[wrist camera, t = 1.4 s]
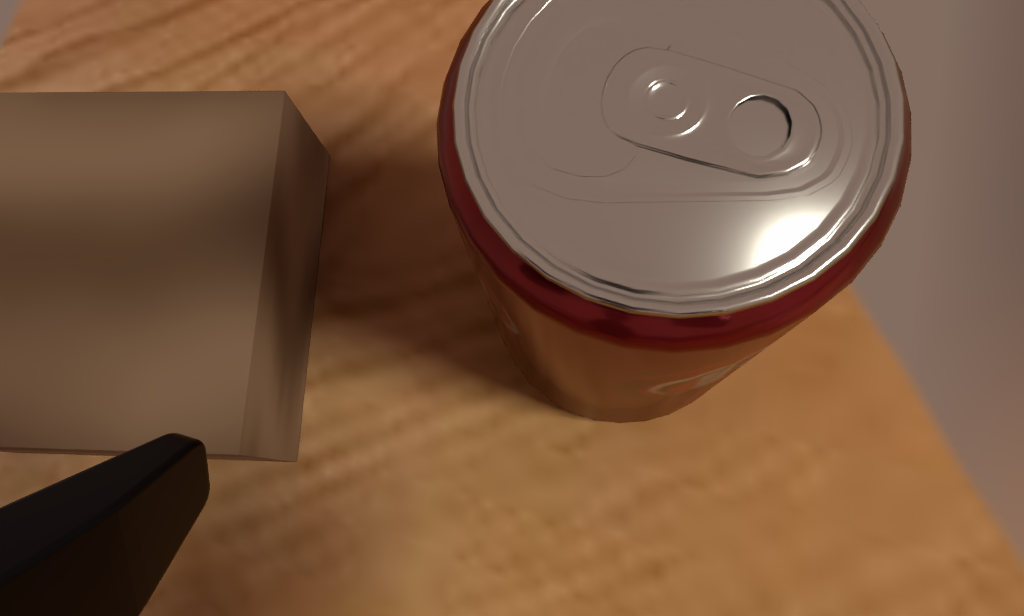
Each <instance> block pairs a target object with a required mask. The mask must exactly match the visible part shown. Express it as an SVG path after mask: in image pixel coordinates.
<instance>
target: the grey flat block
mask: <svg viewBox="0 0 1024 616" xmlns="http://www.w3.org/2000/svg"><path fill="white" fill-rule="evenodd" d="M329 157H330V155H329V154H328V152H327V151H326V149H325V148H324V147H323V145H322V144H321V142H320V141H319V139H318V138H317V136H316V135H315V134H314V132H313V131H312V129H311V128H310V126H309V125H308V123H307V122H306V121H305V119H304V118H303V116H302V115H301V113H300V112H299V110H298V109H297V108H296V106H295V105H294V103H293V102H292V100H291V99H290V97H289V96H288V95H287V93H286V92H285V91H195V92H37V93H0V451H3V452H19V453H48V454H77V455H106V456H118V455H120V454H122V453H125V452H127V451H129V450H131V449H134V448H136V447H138V446H140V445H143V444H145V443H147V442H149V441H152V440H154V439H156V438H158V437H160V436H163V435H165V434H169V433H179V434H182V435H185V436H189V437H192V438H195V439H199V440H200V441H202V442H203V444H204V445H205V448H206V454H207V459H223V460H252V461H282V462H297V457H298V448H299V438H300V429H301V420H302V410H303V401H304V392H305V382H306V373H307V364H308V354H309V345H310V335H311V326H312V317H313V307H314V298H315V289H316V279H317V270H318V260H319V251H320V242H321V232H322V223H323V214H324V204H325V195H326V186H327V176H328V167H329Z"/></svg>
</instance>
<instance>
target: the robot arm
mask: <svg viewBox="0 0 1024 616" xmlns="http://www.w3.org/2000/svg"><path fill="white" fill-rule="evenodd" d="M209 490H210V483H209V473H208V464H207V454H206V448H205V445H204V444H203V442H202V441H200V440H199V439H195V438H192V437H189V436H185V435H182V434H179V433H169V434H165V435H163V436H160V437H158V438H156V439H154V440H152V441H149V442H147V443H145V444H143V445H140V446H138V447H136V448H134V449H131V450H129V451H127V452H125V453H122V454H120V455H118V456H116V457H113V458H111V459H109V460H107V461H104V462H102V463H100V464H98V465H95V466H93V467H91V468H89V469H86V470H84V471H82V472H80V473H77V474H75V475H73V476H71V477H68V478H66V479H64V480H62V481H59V482H57V483H55V484H53V485H51V486H48V487H46V488H44V489H42V490H39V491H37V492H35V493H33V494H30V495H28V496H26V497H24V498H21V499H19V500H17V501H15V502H12V503H10V504H8V505H6V506H3V507H1V508H0V616H139V615H140V613H141V612H142V610H143V608H144V607H145V605H146V604H147V602H148V600H149V599H150V597H151V596H152V594H153V592H154V590H155V589H156V587H157V585H158V584H159V582H160V580H161V579H162V577H163V575H164V574H165V572H166V570H167V568H168V567H169V565H170V563H171V562H172V560H173V558H174V557H175V555H176V553H177V551H178V550H179V548H180V546H181V545H182V543H183V541H184V540H185V538H186V536H187V535H188V533H189V531H190V529H191V528H192V526H193V524H194V523H195V521H196V519H197V518H198V516H199V514H200V513H201V511H202V509H203V507H204V506H205V504H206V501H207V499H208V495H209Z"/></svg>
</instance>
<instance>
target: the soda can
mask: <svg viewBox="0 0 1024 616" xmlns="http://www.w3.org/2000/svg"><path fill="white" fill-rule="evenodd" d="M437 143H438V165H439V168H440V172H441V176H442V180H443V183H444V187H445V191H446V195H447V198H448V202H449V206H450V208H451V211H452V213H453V216H454V218H455V221H456V223H457V226H458V228H459V231H460V233H461V236H462V238H463V241H464V243H465V246H466V248H467V251H468V253H469V256H470V258H471V261H472V263H473V266H474V268H475V271H476V273H477V276H478V278H479V281H480V283H481V286H482V288H483V291H484V293H485V296H486V298H487V301H488V303H489V306H490V309H491V311H492V314H493V316H494V319H495V321H496V324H497V326H498V329H499V331H500V334H501V336H502V339H503V341H504V344H505V346H506V348H507V350H508V352H509V354H510V356H511V358H512V359H513V361H514V363H515V365H516V367H517V368H518V369H519V370H520V372H521V373H522V374H523V375H524V377H525V378H526V379H527V381H528V382H529V383H530V384H531V385H532V386H533V387H534V388H536V389H537V390H538V391H539V392H540V393H541V394H543V395H544V396H545V397H546V398H547V399H548V400H550V401H552V402H554V403H555V404H557V405H559V406H561V407H562V408H564V409H566V410H568V411H570V412H572V413H575V414H578V415H581V416H584V417H587V418H590V419H593V420H599V421H607V422H615V423H627V422H640V421H647V420H651V419H654V418H658V417H662V416H665V415H669V414H671V413H673V412H675V411H677V410H679V409H681V408H683V407H684V406H686V405H688V404H690V403H692V402H693V401H695V400H696V399H697V398H699V397H700V396H701V395H703V394H704V393H706V392H707V391H708V390H710V389H711V388H712V387H714V386H715V385H716V384H718V383H719V382H721V381H722V380H723V379H725V378H726V377H727V376H729V375H730V374H731V373H733V372H734V371H736V370H737V369H738V368H740V367H741V366H742V365H744V364H745V363H746V362H748V361H749V360H750V359H752V358H753V357H755V356H756V355H757V354H759V353H760V352H761V351H763V350H764V349H765V348H767V347H768V346H770V345H771V344H772V343H774V342H775V341H776V340H778V339H779V338H780V337H782V336H783V335H784V334H786V333H787V332H789V331H790V330H791V329H793V328H794V327H795V326H797V325H798V324H799V323H801V322H802V321H804V320H805V319H806V318H808V317H809V316H810V315H812V314H813V313H814V312H816V311H817V310H818V309H819V308H821V307H822V306H823V305H824V304H826V303H827V302H828V301H829V300H831V299H832V298H833V297H834V296H836V295H837V294H838V293H839V292H840V291H842V290H843V289H844V288H845V287H847V286H848V285H849V284H850V283H852V282H853V280H854V279H855V278H856V277H857V275H858V274H859V273H860V272H861V270H862V269H863V268H864V267H865V265H866V264H867V263H868V262H869V260H870V259H871V258H872V257H873V255H874V254H875V253H876V252H877V250H878V249H879V248H880V247H881V245H882V243H883V241H884V239H885V237H886V235H887V233H888V231H889V228H890V226H891V224H892V222H893V220H894V218H895V216H896V214H897V212H898V210H899V208H900V206H901V202H902V197H903V193H904V189H905V184H906V180H907V176H908V171H909V167H910V161H911V111H910V107H909V102H908V98H907V94H906V90H905V85H904V80H903V76H902V72H901V70H900V68H899V66H898V63H897V61H896V59H895V57H894V55H893V53H892V51H891V49H890V47H889V45H888V42H887V40H886V38H885V36H884V34H883V33H882V31H881V30H880V27H879V26H878V24H877V22H876V21H875V20H874V18H873V17H872V16H871V14H870V13H869V12H868V10H867V9H866V8H865V6H864V5H863V4H862V2H861V1H860V0H489V1H488V2H487V3H486V4H485V5H484V6H483V7H482V9H481V10H480V12H479V13H478V15H477V16H476V18H475V19H474V21H473V22H472V24H471V26H470V27H469V29H468V30H467V32H466V33H465V35H464V36H463V38H462V39H461V41H460V43H459V46H458V48H457V51H456V53H455V56H454V58H453V61H452V63H451V66H450V68H449V71H448V73H447V76H446V79H445V81H444V84H443V89H442V95H441V101H440V107H439V113H438V118H437Z"/></svg>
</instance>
